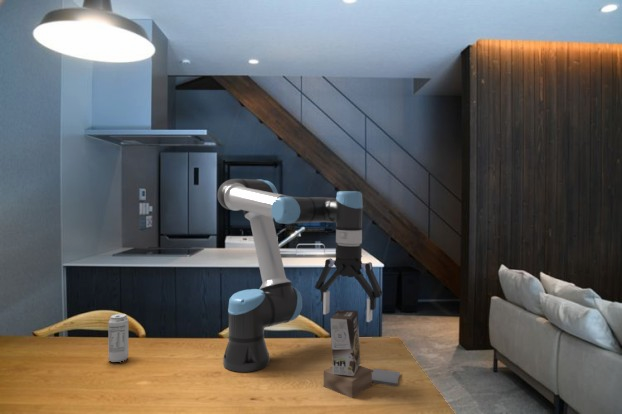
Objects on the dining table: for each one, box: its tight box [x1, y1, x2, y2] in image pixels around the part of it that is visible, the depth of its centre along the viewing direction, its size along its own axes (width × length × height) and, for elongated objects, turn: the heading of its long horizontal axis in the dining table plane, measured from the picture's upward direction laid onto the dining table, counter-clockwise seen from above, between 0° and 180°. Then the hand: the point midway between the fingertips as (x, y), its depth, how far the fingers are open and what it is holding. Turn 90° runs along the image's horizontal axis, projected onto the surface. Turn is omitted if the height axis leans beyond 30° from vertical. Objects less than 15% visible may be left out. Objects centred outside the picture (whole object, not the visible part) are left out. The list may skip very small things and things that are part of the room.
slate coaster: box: [372, 368, 401, 387], centre depth 120 cm, size 8×8×1 cm
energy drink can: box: [107, 313, 129, 363], centre depth 133 cm, size 6×6×15 cm
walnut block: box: [323, 365, 373, 399], centre depth 115 cm, size 10×10×5 cm
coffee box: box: [329, 309, 361, 376], centre depth 115 cm, size 9×6×16 cm
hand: (347, 317), depth 115 cm, fingers open, 13 cm apart
